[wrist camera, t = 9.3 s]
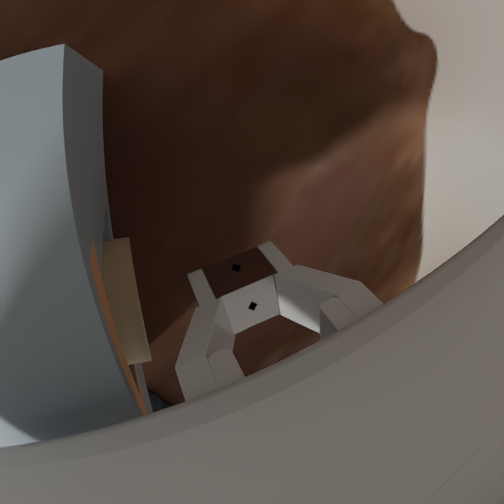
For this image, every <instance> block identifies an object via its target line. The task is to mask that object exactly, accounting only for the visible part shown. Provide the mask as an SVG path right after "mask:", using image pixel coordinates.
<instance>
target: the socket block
mask: <svg viewBox="0 0 504 504" xmlns="http://www.w3.org/2000/svg"><path fill="white" fill-rule="evenodd" d="M111 239H113V233H112V226H111V219H110V211H109V203H108V194H107V185H106V173H105V160H104V143H103V70H102V69H100V68H99V67H97V66H96V65H95V64H93V63H92V62H90V61H89V60H87V59H86V58H85V57H83V56H82V55H80V54H79V53H77V52H76V51H74V50H73V49H72V48H70V47H69V46H67V45H66V44H61V45H56V46H51V47H47V48H43V49H39V50H35V51H31V52H27V53H24V54H20V55H17V56H13V57H10V58H7V59H4V60H1V61H0V447H5V446H13V445H21V444H27V443H33V442H39V441H45V440H50V439H55V438H60V437H65V436H70V435H74V434H79V433H83V432H87V431H91V430H95V429H99V428H103V427H107V426H110V425H114V424H117V423H121V422H124V421H128V420H131V419H134V418H138V417H141V416H144V415H147V414H150V413H153V411H152V407H151V403H150V399H149V395H148V391H147V386H146V382H145V378H144V373H143V368H142V364H141V363H136V364H130V365H128V363H127V360H126V357H125V354H124V351H123V348H122V345H121V342H120V339H119V336H118V333H117V330H116V327H115V324H114V320H113V317H112V314H111V310H110V307H109V303H108V300H107V296H106V292H105V288H104V284H103V280H102V246H103V241H105V240H111Z"/></svg>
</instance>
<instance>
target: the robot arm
mask: <svg viewBox="0 0 504 504" xmlns="http://www.w3.org/2000/svg"><path fill="white" fill-rule="evenodd" d="M187 276H188V279H189V282H190V284H191V287H192V289H193V292H194V294H195V297H196V299H197V302H198V304H199V307H197V308H195V310H194V313H193V316H192V319H191V321H190V324H189V327H188V330H187V333H186V336H185V338H184V341H183V344H182V347H181V350H180V353H179V356H178V359H177V362H176V365H175V370H176V373H177V376H178V380H179V383H180V386H181V389H182V392H183V395H184V398H185V402H182V403H179V404H176V405H174V406H171V407H168V408H165V409H162V410H159V411H156V412H153V413H150V414H147V415H144V416H141V417H138V418H134V419H131V420H128V421H124V422H121V423H117V424H114V425H110V426H107V427H103V428H99V429H95V430H91V431H87V432H83V433H79V434H74V435H70V436H65V437H60V438H55V439H50V440H45V441H39V442H33V443H27V444H21V445H13V446H5V447H0V504H504V215H503V216H502V217H501V218H499V219H498V220H497V221H496V222H495V223H494V224H493V225H491V226H490V227H489V228H488V229H487V230H485V231H484V232H483V233H482V234H481V235H479V236H478V237H477V238H476V239H475V240H473V241H472V242H471V243H470V244H468V245H467V246H466V247H464V248H463V249H462V250H460V251H459V252H458V253H456V254H455V255H454V256H453V257H451V258H450V259H449V260H447V261H446V262H444V263H443V264H442V265H440V266H439V267H438V268H436V269H435V270H433V271H432V272H431V273H429V274H428V275H426V276H425V277H424V278H422V279H420V280H419V281H418V282H416V283H415V284H413V285H412V286H410V287H409V288H407V289H406V290H404V291H403V292H401V293H400V294H398V295H396V296H395V297H393V298H392V299H390V300H389V301H387V302H386V303H384V304H383V303H382V302H381V301H380V300H379V299H378V298H377V297H376V296H375V295H374V294H373V293H372V292H371V291H370V290H369V289H368V288H367V287H366V286H365V285H364V284H363V283H361V282H360V281H357V280H353V279H349V278H345V277H342V276H338V275H334V274H331V273H327V272H323V271H320V270H316V269H312V268H308V267H305V266H301V265H295V266H293V265H292V264H291V263H290V262H289V261H288V259H287V258H286V257H285V256H284V255H283V254H282V253H281V252H280V251H279V249H278V248H277V247H276V246H275V245H274V244H273V243H272V242H271V241H267V242H265V243H262V244H260V245H258V246H256V247H254V248H252V249H249V250H247V251H244V252H242V253H240V254H237V255H235V256H232V257H230V258H227V259H224V260H222V261H219V262H216V263H214V264H211V265H208V266H206V267H203V268H202V269H198V270H196V271H193V272H191V273H188V274H187ZM279 314H281V315H282V316H284V317H286V318H288V319H290V320H292V321H294V322H297V323H299V324H301V325H303V326H305V327H307V328H309V329H311V330H314V331H316V332H318V333H320V340H319V341H318V342H317V343H315V344H313V345H311V346H309V347H307V348H305V349H303V350H301V351H299V352H297V353H295V354H293V355H291V356H289V357H287V358H285V359H283V360H281V361H279V362H277V363H275V364H273V365H271V366H268V367H266V368H264V369H262V370H260V371H258V372H255V373H253V374H251V375H249V376H246V377H245V376H244V374H243V372H242V370H241V368H240V366H239V364H238V362H237V360H236V358H235V356H234V354H233V346H234V340H235V334H236V333H239V332H241V331H243V330H245V329H247V328H249V327H251V326H253V325H255V324H258V323H260V322H262V321H265V320H267V319H269V318H272V317H274V316H276V315H279Z"/></svg>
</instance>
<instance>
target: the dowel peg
mask: <svg viewBox="0 0 504 504" xmlns="http://www.w3.org/2000/svg"><path fill="white" fill-rule="evenodd" d="M102 280H103V284H104V288H105V292H106V296H107V300H108V303H109V307H110V310H111V314H112V317H113V320H114V324H115V327H116V330H117V333H118V336H119V339H120V342H121V345H122V348H123V351H124V354H125V357H126V360H127V363H128V365H130V364H136V363H142V362H148V361H152V359H151V354H150V350H149V345H148V340H147V336H146V331H145V326H144V321H143V316H142V311H141V306H140V300H139V295H138V289H137V284H136V278H135V271H134V265H133V259H132V252H131V246H130V239H129V237H125V238H118V239H111V240H105V241H103V246H102Z"/></svg>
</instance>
